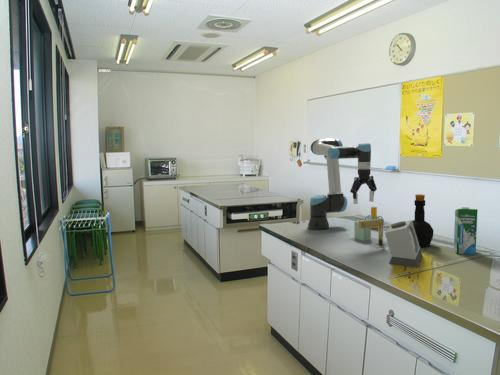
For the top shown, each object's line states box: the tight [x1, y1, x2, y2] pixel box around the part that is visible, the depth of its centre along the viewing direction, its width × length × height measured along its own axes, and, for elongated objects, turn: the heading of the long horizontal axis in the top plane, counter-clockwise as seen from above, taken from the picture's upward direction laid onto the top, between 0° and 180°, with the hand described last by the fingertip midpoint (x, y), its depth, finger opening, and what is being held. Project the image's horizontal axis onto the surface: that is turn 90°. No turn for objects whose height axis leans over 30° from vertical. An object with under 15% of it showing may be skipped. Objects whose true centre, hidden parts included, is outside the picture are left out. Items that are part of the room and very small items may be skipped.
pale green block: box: [354, 219, 372, 241], centre depth 238 cm, size 8×6×11 cm
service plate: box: [349, 237, 389, 249], centre depth 232 cm, size 24×14×1 cm, turn 27°
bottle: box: [412, 194, 434, 248], centre depth 222 cm, size 16×16×30 cm
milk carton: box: [453, 206, 479, 256], centre depth 206 cm, size 9×9×25 cm
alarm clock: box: [384, 219, 423, 268], centre depth 197 cm, size 20×16×20 cm
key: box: [357, 217, 385, 244], centre depth 222 cm, size 16×2×15 cm, turn 110°
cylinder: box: [364, 206, 384, 230], centre depth 268 cm, size 12×10×15 cm
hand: (363, 202), depth 234 cm, fingers open, 13 cm apart
